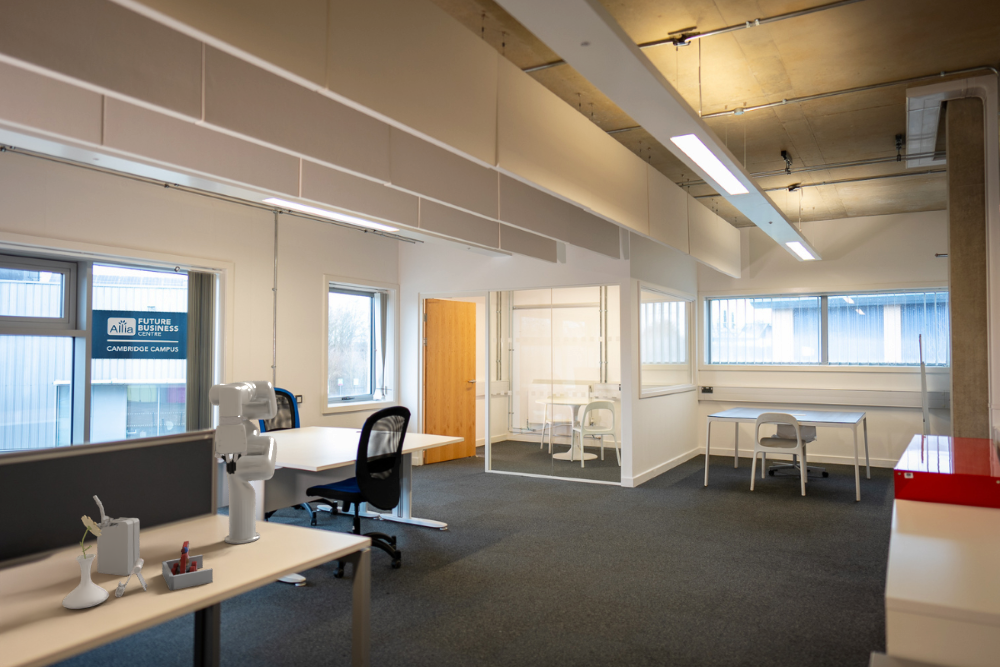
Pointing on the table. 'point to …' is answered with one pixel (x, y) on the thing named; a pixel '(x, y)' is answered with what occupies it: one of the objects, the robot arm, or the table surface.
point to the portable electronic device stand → (135, 570)
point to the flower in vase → (86, 577)
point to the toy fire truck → (184, 562)
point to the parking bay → (186, 574)
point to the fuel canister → (117, 544)
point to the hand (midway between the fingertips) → (231, 473)
